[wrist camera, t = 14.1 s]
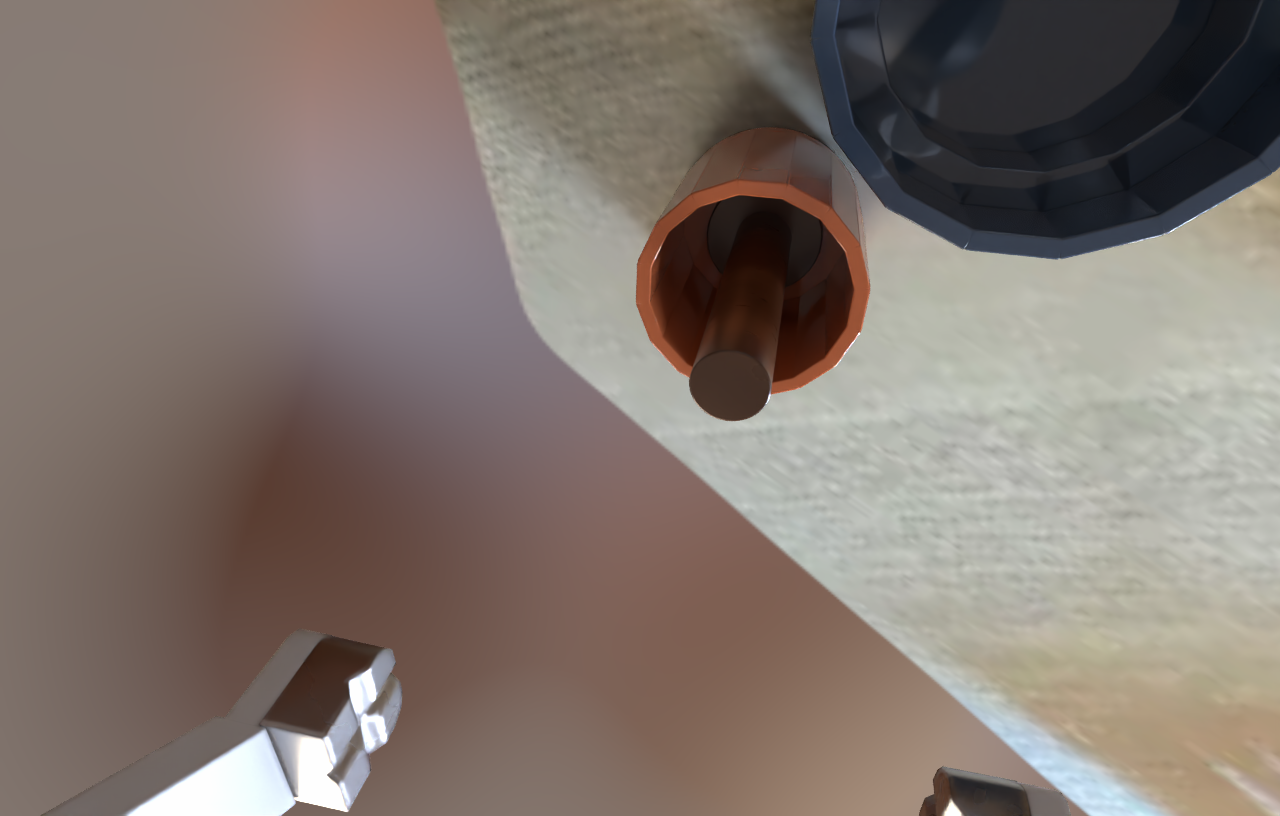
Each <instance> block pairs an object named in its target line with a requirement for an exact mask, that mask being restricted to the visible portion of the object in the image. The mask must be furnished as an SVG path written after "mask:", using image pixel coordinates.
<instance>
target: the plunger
mask: <svg viewBox="0 0 1280 816" xmlns="http://www.w3.org/2000/svg"><path fill="white" fill-rule="evenodd" d="M822 237H823V223H822V222H821V220H820V219H818V218H816V217H815V216H813V215H811V214H809V213H807V212H805V211H803V210H801V209H800V208H798V207H796V206H794V205H792V204H790V203H788V202H787V201H785V200H783V199H776V198H765V197H755V196H745V195H737V196H734V197H731V198H728V199H724V200H721V201H718V202H717V204H716V205H715V208H714V210H713V212H712V214H711V217H710V219H709V223H708V227H707V247H708V251H709V254H710V257H711V259H712V261H713V263H714V265H715V266H716V268H717V269H718V270H719V272H720V273H721V274H722V275H723V276H722V279H721V282H720V285H719V288H718V291H717V294H716V297H715V300H714V304H713V307H712V310H711V313H710V316H709V319H708V322H707V325H706V328H705V331H704V334H703V337H702V340H701V344H700V347H699V350H698V353H697V356H696V359H695V362H694V365H693V368H692V371H691V374H690V379H689V387H690V392H691V395H692V397H693V399H694V401H695V402H696V404H697V405H698V406H699V407H700V408H701V409H702V410H703V411H704V412H706V413H707V414H709V415H710V416H712V417H715V418H717V419H720V420H725V421H740V420H744V419H748V418H750V417H752V416H754V415H756V414H757V413H759V412H760V411H761V410H762V409H763V408H764V407H765V405H766V404H767V402H768V400H769V398H770V395H771V389H772V382H773V374H774V367H775V359H776V352H777V344H778V337H779V329H780V322H781V314H782V307H783V299H784V292H785V288H786V287H788V286H790V285H792V284H794V283H796V282H797V281H799V280H800V279H801V278H803V277H804V276H805V275H806V274H807V273H808V272H809V271H810V269H811V268H812V267H813V265H814V264H815V262H816V260H817V258H818V255H819V253H820V250H821V246H822Z"/></svg>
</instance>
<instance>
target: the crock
mask: <svg viewBox="0 0 1280 816" xmlns="http://www.w3.org/2000/svg"><path fill="white" fill-rule="evenodd" d="M737 195H745V196H755V197H765V198H776V199H783V200H785V201H787V202H788V203H790V204H792V205H794V206H796V207H798V208H800V209H801V210H803V211H805V212H807V213H809V214H811V215H813V216H815V217H816V218H818V219H820V220H821V222H822V223H823V237H822V246H821V250H820V253H819V255H818V258H817V260H816V262H815V264H814V265H813V267H812V268H811V269H810V271H809V272H808V273H807V274H806V275H805V276H804V277H803V278H801V279H800V280H799V281H797V282H796V283H794V284H792V285H790V286H788V287H786V288H785V292H784V299H783V307H782V314H781V322H780V329H779V337H778V344H777V352H776V359H775V367H774V374H773V382H772V389H771V394H775V393H780V392H785V391H790V390H795V389H799V388H801V387H803V386H804V385H806V384H808V383H809V382H811V381H813V380H814V379H816V378H817V377H819V376H821V375H822V374H824V373H825V372H827V371H829V370H830V369H832V368H834V367H835V366H836V365H837V364H838V363H839V361H840V360H841V359H842V357H843V356H844V354H845V353H846V352H847V350H848V349H849V348H850V346H851V345H852V344H853V342H854V341H855V339H856V338H857V337H858V335H859V334H860V333H861V330H862V326H863V322H864V317H865V313H866V308H867V303H868V299H869V294H870V279H869V270H868V262H867V253H866V244H865V235H864V227H863V218H862V213H861V209H860V205H859V198H858V194H857V190H856V187H855V184H854V181H853V179H852V177H851V175H850V173H849V171H848V170H847V168H846V167H845V165H844V164H843V162H842V161H841V160H840V159H839V158H838V157H837V155H836V154H835V153H834V152H833V151H831V150H830V149H829V148H828V147H827V146H826V145H824V144H823V143H821V142H820V141H818V140H816V139H815V138H813V137H811V136H808V135H806V134H804V133H801V132H798V131H795V130H791V129H785V128H779V127H763V128H754V129H749V130H746V131H742V132H739V133H736V134H734V135H731V136H729V137H727V138H725V139H724V140H722V141H720V142H718V143H717V144H715V145H714V146H713V147H712V148H710V149H709V150H708V151H707V152H706V153H705V154H704V155H703V156H702V157H701V158H700V159H699V160H698V161H697V162H696V163H695V164H694V165H693V166H692V167H691V168H690V170H689V171H688V173H687V174H686V176H685V178H684V179H683V181H682V182H681V184H680V186H679V187H678V189H677V190H676V192H675V194H674V195H673V197H672V198H671V200H670V202H669V203H668V205H667V206H666V208H665V210H664V211H663V213H662V215H661V216H660V218H659V219H658V221H657V223H656V224H655V226H654V228H653V230H652V232H651V234H650V236H649V239H648V241H647V243H646V245H645V247H644V249H643V251H642V253H641V255H640V257H639V259H638V263H637V285H636V303H637V304H636V305H637V308H638V310H639V313H640V315H641V318H642V321H643V323H644V326H645V328H646V331H647V334H648V336H649V339H650V341H651V342H652V344H653V345H654V346H655V347H656V348H657V349H658V350H659V351H660V353H661V354H662V355H663V356H664V357H665V358H666V359H667V360H668V361H669V362H670V363H671V364H672V366H673V367H674V368H675V369H676V370H677V371H679V372H680V373H681V374H683V375H685V376H687V377H689V378H690V374H691V371H692V368H693V365H694V362H695V359H696V356H697V353H698V350H699V347H700V344H701V340H702V337H703V334H704V331H705V328H706V325H707V322H708V319H709V316H710V313H711V310H712V307H713V304H714V300H715V297H716V294H717V291H718V288H719V285H720V282H721V279H722V276H723V275H722V274H721V273H720V272H719V270H718V269H717V268H716V266H715V265H714V263H713V261H712V259H711V257H710V254H709V251H708V247H707V227H708V223H709V219H710V217H711V214H712V212H713V210H714V208H715V205H716V204H717V202H718V201H721V200H724V199H728V198H731V197H734V196H737Z"/></svg>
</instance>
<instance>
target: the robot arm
mask: <svg viewBox="0 0 1280 816" xmlns="http://www.w3.org/2000/svg"><path fill="white" fill-rule="evenodd" d="M395 664H396V662H395V658H394V655H393V651H392V649H388V648H384V647H379V646H375V645H370V644H366V643H361V642H357V641H352V640H348V639H344V638H339V637H335V636H332V635H328V634H323V633H318V632H313V631H309V630H304V629H298V630H297V631H295V632H294V633H292V634H291V635H290V636H288V637H287V638H286V640H285V641H284V642H283V644H282V645H281V646H280V647H279V649H278V650H277V651H276V653H275V654H274V655H273V656H272V658H271V659H270V660H269V661H268V663H267V664H266V666H265V667H264V668H263V669H262V671H261V672H260V673H259V674H258V676H257V677H256V678H255V679H254V681H253V682H252V683H251V685H250V686H249V687H248V689H247V690H246V691H245V692H244V694H243V695H242V696H241V697H240V699H239V700H238V701H237V703H236V704H235V705H234V706H233V708H232V709H231V710H230V712H229V713H228V714H227V715H226V717H225V718H224V717H219V716H215V717H213V718H211V719H210V720H208V721H206V722H205V723H203V724H201V725H199V726H197V727H196V728H194V729H192V730H191V731H189V732H187V733H185V734H183V735H181V736H180V737H178V738H176V739H175V740H173V741H171V742H169V743H167V744H166V745H164V746H162V747H160V748H159V749H157V750H155V751H153V752H152V753H150V754H148V755H146V756H145V757H143V758H141V759H139V760H137V761H136V762H134V763H132V764H130V765H129V766H127V767H125V768H123V769H122V770H120V771H118V772H116V773H115V774H113V775H111V776H109V777H108V778H106V779H104V780H102V781H101V782H99V783H97V784H95V785H94V786H92V787H90V788H88V789H86V790H85V791H83V792H81V793H79V794H78V795H76V796H74V797H73V798H70V799H69V800H67V801H65V802H63V803H62V804H60V805H58V806H56V807H55V808H53V809H51V810H49V811H48V812H46V813H44V814H42V815H41V816H281V815H282V814H283V813H285V812H286V811H287V810H288V809H290V808H291V807H292V806H293V805H295V803H296V802H295V800H298V801H303V802H307V803H312V804H316V805H321V806H325V807H330V808H334V809H339V810H343V811H348V810H349V809H350V807H351V805H352V803H353V801H354V800H355V798H356V796H357V794H358V793H359V791H360V789H361V787H362V785H363V783H364V782H365V780H366V778H367V776H368V775H369V772H370V771H371V764H370V756H369V754H370V753H371V752H373V751H375V750H376V749H378V748H379V747H380V746H382V745H384V744H385V743H386V742H387V740H388V738H389V736H390V734H391V733H392V731H393V729H394V727H395V725H396V722H397V718H398V715H399V712H400V709H401V705H402V688H401V684H400V681H399V680H398V679H397V678H396V677H395V676H394V675H393V674H392V673H391V671H392V669H393V667H394V666H395ZM933 785H934V794H933V795H931V796H929V797H926V798H925V799H924V802H923V804H922V807H921V810H920V813H919V816H1071V814H1070V810H1069V806H1068V803H1067V801H1066V799H1065V798H1064V796H1063V795H1062V793H1061V792H1059V791H1057V790H1054V789H1049V788H1043V787H1038V786H1034V785H1028V784H1023V783H1018V782H1017V781H1014V780H1009V779H1004V778H998V777H994V776H989V775H983V774H979V773H973V772H968V771H963V770H958V769H953V768H948V767H941V768H939V769H938V770H937V772H936V774H935V776H934V779H933Z"/></svg>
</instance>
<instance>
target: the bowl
mask: <svg viewBox="0 0 1280 816" xmlns="http://www.w3.org/2000/svg"><path fill="white" fill-rule="evenodd" d="M810 37H811V47H812V51H813V55H814V60H815V64H816V68H817V73H818V77H819V81H820V86H821V90H822V94H823V99H824V103H825V107H826V112H827V116H828V120H829V124H830V129H831V133H832V135H833V138H834V140H835V141H836V142H837V144H838V145H839V146H840V148H841V149H842V150H843V152H844V153H845V154H846V156H847V157H848V158H849V160H850V161H851V162H852V164H853V165H854V166H855V168H856V169H857V170H858V172H859V173H860V174H861V176H862V177H863V178H864V180H865V181H866V182H867V184H868V185H869V186H870V188H871V189H872V190H873V192H874V193H875V194H876V196H877V197H878V198H879V200H880V201H881V202H882V204H883V205H884V206H885V207H886V208H887V209H889V210H890V211H892V212H894V213H896V214H898V215H900V216H902V217H903V218H905V219H907V220H909V221H911V222H913V223H915V224H916V225H918V226H920V227H922V228H924V229H926V230H928V231H929V232H931V233H933V234H935V235H937V236H939V237H941V238H942V239H944V240H946V241H948V242H950V243H952V244H954V245H955V246H957V247H959V248H961V249H965V250H970V251H979V252H989V253H999V254H1008V255H1018V256H1028V257H1037V258H1047V259H1059V258H1060V259H1064V258H1068V257H1073V256H1077V255H1081V254H1085V253H1090V252H1094V251H1098V250H1102V249H1107V248H1111V247H1115V246H1120V245H1124V244H1128V243H1132V242H1137V241H1141V240H1145V239H1149V238H1154V237H1158V236H1162V235H1164V233H1165V234H1168V233H1170V232H1171V231H1173V230H1175V229H1177V228H1178V227H1180V226H1182V225H1184V224H1185V223H1187V222H1189V221H1191V220H1192V219H1194V218H1196V217H1198V216H1199V215H1201V214H1203V213H1205V212H1206V211H1208V210H1210V209H1212V208H1213V207H1215V206H1217V205H1219V204H1220V203H1222V202H1224V201H1226V200H1227V199H1229V198H1231V197H1232V196H1234V195H1236V194H1238V193H1239V192H1241V191H1243V190H1245V189H1246V188H1248V187H1250V186H1252V185H1253V184H1255V183H1257V182H1259V181H1260V180H1262V179H1264V178H1266V177H1267V176H1269V175H1271V174H1272V172H1275V171H1276V170H1277V169H1278V168H1279V167H1280V0H815V6H814V13H813V20H812V27H811V35H810Z"/></svg>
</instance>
